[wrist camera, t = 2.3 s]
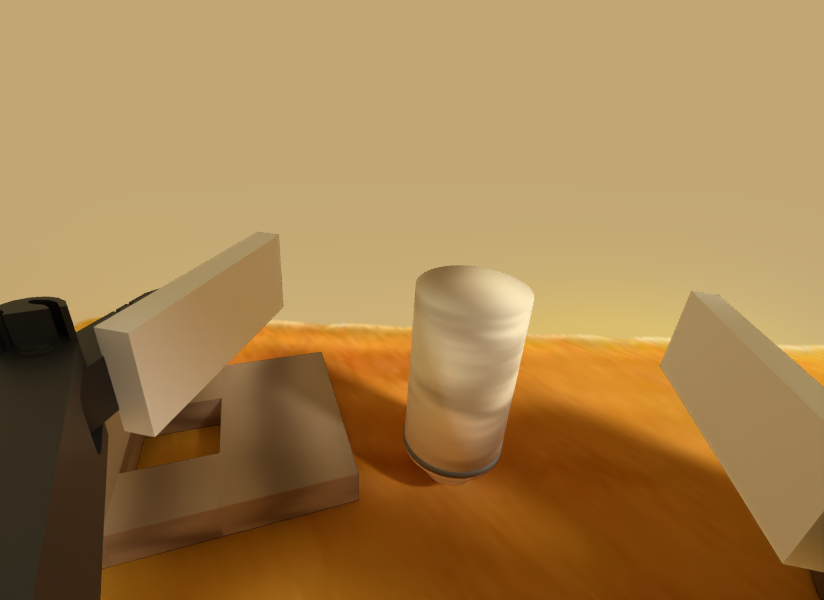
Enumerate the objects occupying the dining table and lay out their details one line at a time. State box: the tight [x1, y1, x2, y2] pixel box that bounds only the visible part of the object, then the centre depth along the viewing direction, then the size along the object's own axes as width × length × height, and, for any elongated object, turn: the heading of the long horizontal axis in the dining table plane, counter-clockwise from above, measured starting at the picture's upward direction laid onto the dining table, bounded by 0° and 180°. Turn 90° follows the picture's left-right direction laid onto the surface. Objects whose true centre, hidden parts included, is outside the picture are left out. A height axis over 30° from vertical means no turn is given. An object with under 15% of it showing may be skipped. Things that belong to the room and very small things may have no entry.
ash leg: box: [404, 266, 534, 486], centre depth 28 cm, size 7×7×14 cm
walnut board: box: [102, 352, 359, 569], centre depth 29 cm, size 22×14×2 cm, turn 110°
